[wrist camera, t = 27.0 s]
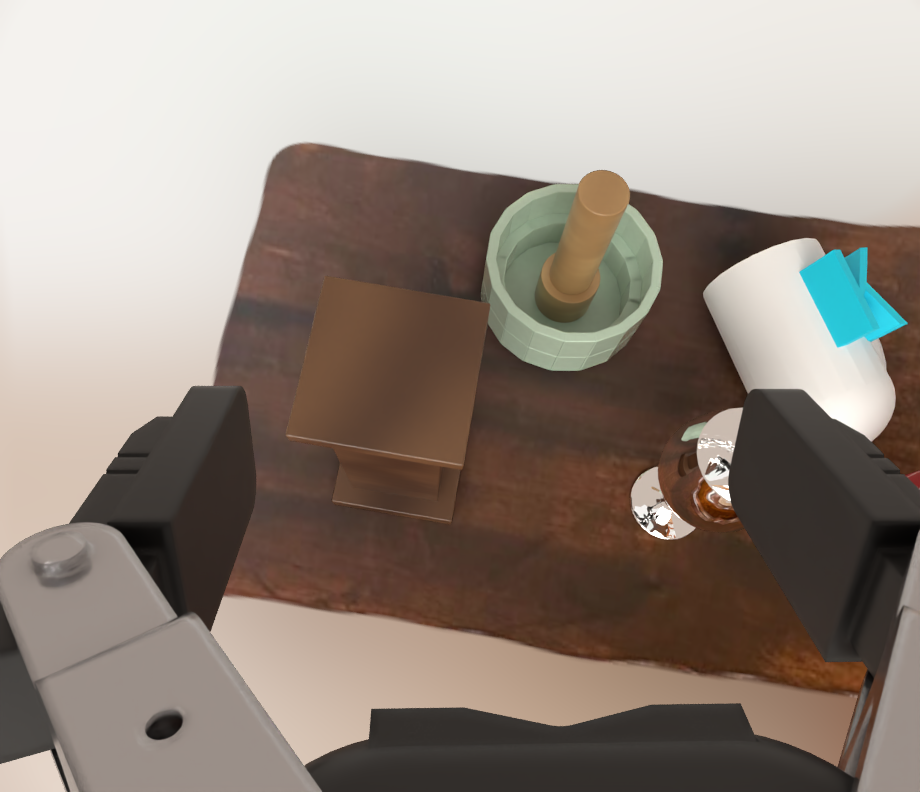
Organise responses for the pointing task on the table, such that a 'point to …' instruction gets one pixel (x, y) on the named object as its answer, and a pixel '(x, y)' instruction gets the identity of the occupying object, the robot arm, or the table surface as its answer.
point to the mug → (809, 329)
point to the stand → (391, 394)
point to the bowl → (518, 269)
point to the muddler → (582, 247)
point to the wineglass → (690, 480)
